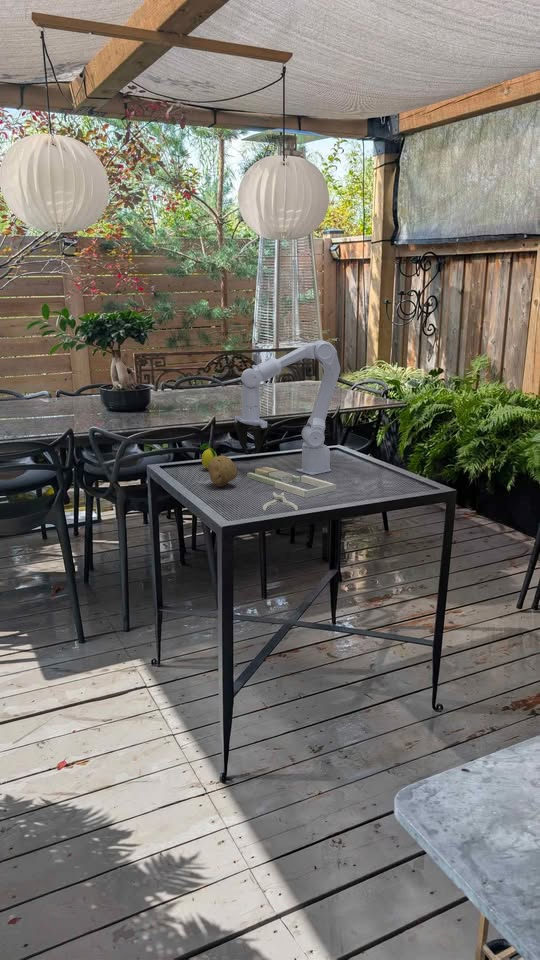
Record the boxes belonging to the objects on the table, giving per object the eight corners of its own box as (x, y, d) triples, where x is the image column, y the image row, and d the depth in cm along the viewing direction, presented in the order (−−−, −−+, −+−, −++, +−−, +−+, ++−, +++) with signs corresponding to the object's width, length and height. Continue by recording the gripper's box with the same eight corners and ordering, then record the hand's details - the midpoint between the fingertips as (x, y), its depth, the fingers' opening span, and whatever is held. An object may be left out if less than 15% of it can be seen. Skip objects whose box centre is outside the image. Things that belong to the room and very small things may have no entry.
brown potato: (237, 482, 225) (237, 452, 222) (236, 490, 216) (236, 459, 214) (209, 483, 225) (208, 452, 222) (207, 490, 216) (206, 459, 214)
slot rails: (270, 472, 238) (270, 468, 237) (300, 481, 227) (300, 477, 226) (247, 477, 232) (247, 473, 231) (276, 486, 221) (276, 482, 220)
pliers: (262, 506, 196) (261, 492, 210) (262, 512, 196) (261, 497, 211) (298, 506, 196) (294, 492, 210) (298, 512, 196) (294, 497, 211)
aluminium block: (280, 479, 230) (280, 470, 230) (292, 483, 226) (292, 474, 225) (268, 481, 227) (268, 472, 227) (280, 485, 223) (280, 476, 222)
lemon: (200, 468, 244) (200, 439, 241) (217, 467, 244) (217, 439, 242) (200, 472, 237) (200, 443, 235) (218, 472, 238) (217, 443, 235)
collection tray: (304, 481, 227) (304, 475, 227) (335, 490, 216) (336, 484, 216) (274, 487, 219) (274, 481, 219) (306, 497, 209) (306, 491, 208)
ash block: (266, 475, 236) (266, 466, 235) (278, 478, 231) (278, 469, 231) (254, 477, 232) (254, 469, 232) (266, 481, 228) (266, 472, 227)
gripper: (227, 404, 234) (227, 444, 237) (255, 409, 223) (255, 451, 227) (243, 402, 238) (243, 441, 242) (272, 407, 228) (271, 448, 231)
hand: (250, 446), depth 234 cm, fingers open, 7 cm apart
